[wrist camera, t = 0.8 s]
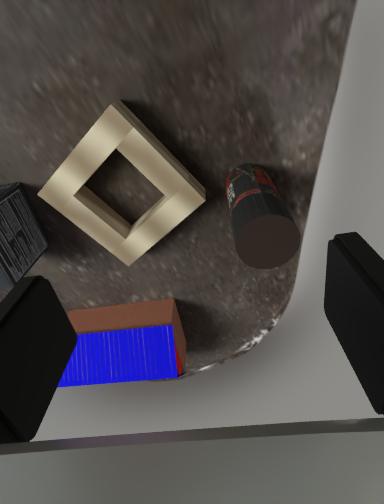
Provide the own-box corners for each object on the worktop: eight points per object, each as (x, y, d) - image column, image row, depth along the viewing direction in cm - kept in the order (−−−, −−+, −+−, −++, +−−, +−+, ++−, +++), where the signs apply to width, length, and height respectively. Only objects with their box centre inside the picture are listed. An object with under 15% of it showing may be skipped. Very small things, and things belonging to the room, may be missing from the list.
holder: (119, 99, 35) (110, 104, 32) (205, 188, 41) (205, 200, 38) (50, 183, 41) (37, 194, 38) (133, 251, 47) (128, 266, 44)
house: (67, 308, 54) (37, 363, 45) (175, 295, 52) (169, 351, 42) (91, 351, 61) (69, 408, 51) (188, 342, 58) (185, 399, 49)
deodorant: (267, 205, 42) (295, 268, 29) (225, 206, 42) (234, 269, 30) (272, 162, 39) (305, 213, 26) (225, 164, 39) (236, 215, 26)
